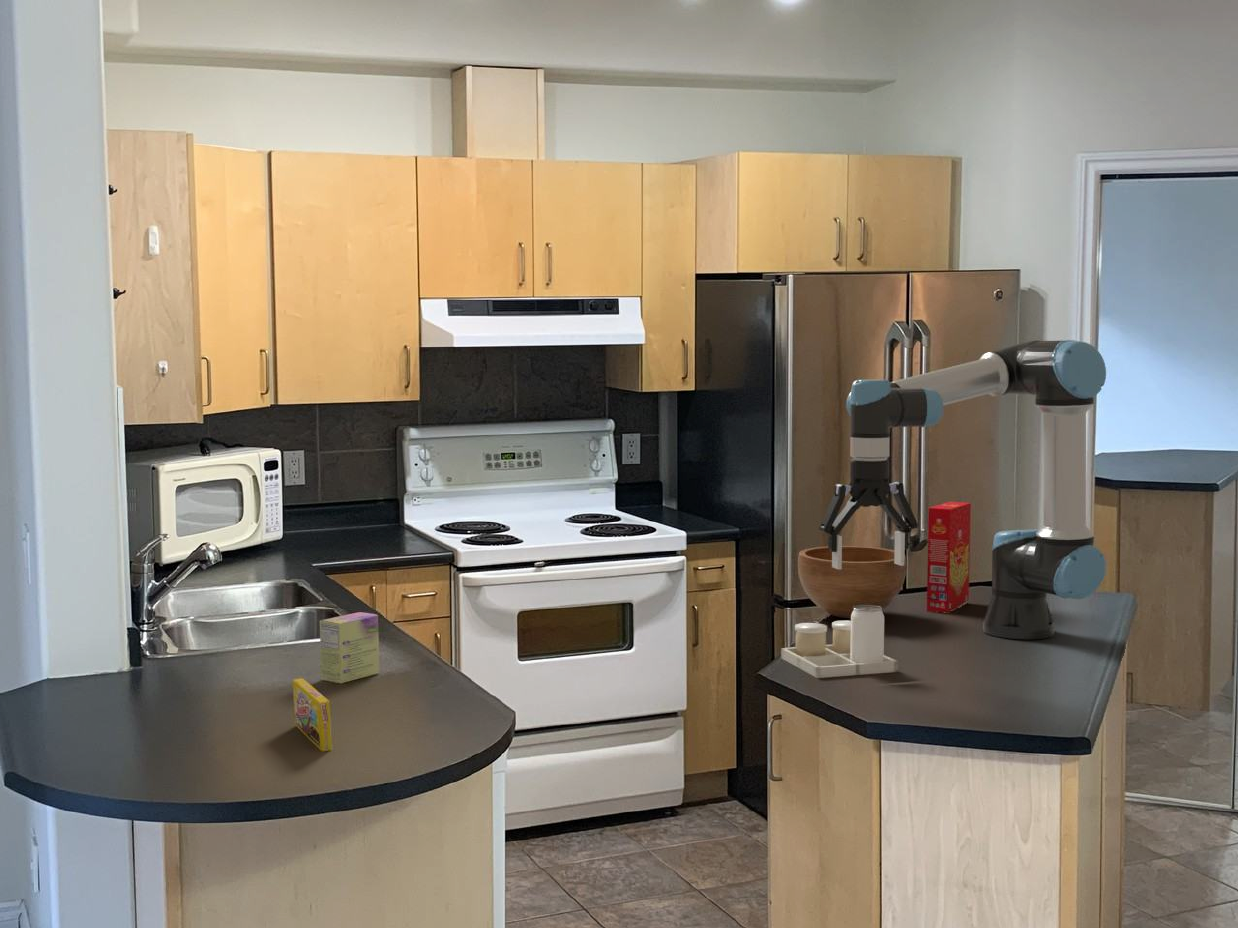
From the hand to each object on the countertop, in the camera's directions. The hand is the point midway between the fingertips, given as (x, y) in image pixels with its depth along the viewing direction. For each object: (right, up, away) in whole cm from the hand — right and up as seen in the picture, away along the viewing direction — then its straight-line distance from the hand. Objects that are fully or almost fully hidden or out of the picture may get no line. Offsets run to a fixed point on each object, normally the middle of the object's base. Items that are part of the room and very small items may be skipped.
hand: (868, 566), depth 266 cm
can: (0, -20, +2) cm, 20 cm away
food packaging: (+31, -15, +64) cm, 73 cm away
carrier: (-5, -20, +4) cm, 21 cm away
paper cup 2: (-3, -19, +9) cm, 22 cm away
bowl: (+5, -16, +52) cm, 55 cm away
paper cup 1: (-10, -20, +7) cm, 23 cm away
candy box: (-99, -25, -43) cm, 111 cm away
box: (-101, -21, -3) cm, 103 cm away
